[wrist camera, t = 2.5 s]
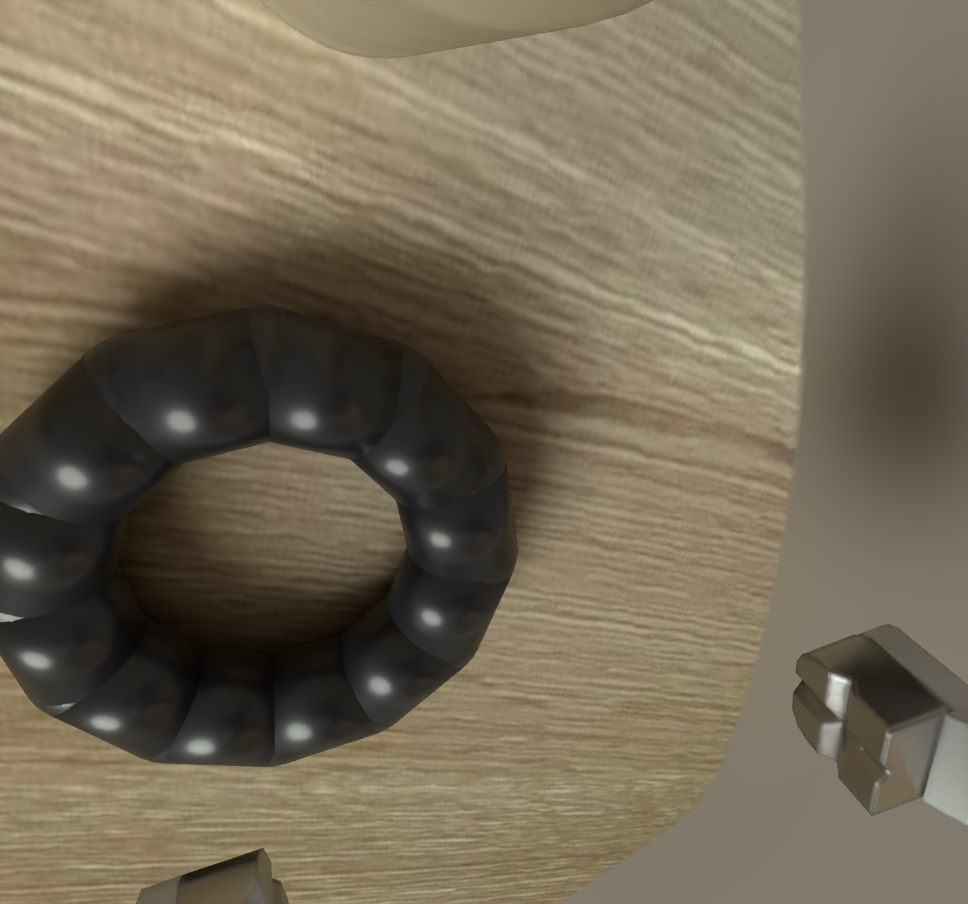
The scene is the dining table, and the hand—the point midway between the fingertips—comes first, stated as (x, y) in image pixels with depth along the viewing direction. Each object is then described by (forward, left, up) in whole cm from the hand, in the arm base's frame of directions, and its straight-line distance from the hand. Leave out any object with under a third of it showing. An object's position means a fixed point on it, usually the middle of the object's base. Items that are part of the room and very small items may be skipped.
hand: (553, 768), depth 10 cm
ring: (+4, 0, -7) cm, 8 cm away
